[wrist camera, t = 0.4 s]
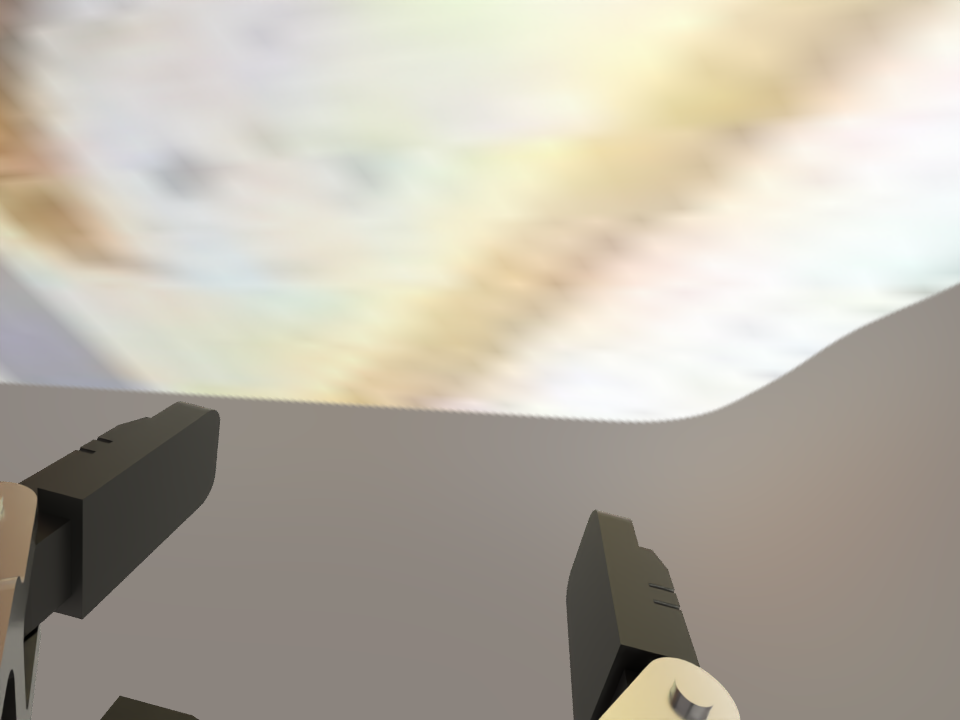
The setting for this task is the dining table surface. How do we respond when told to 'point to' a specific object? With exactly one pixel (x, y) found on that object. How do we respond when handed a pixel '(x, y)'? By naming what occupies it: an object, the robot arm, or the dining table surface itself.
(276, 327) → the dining table surface
